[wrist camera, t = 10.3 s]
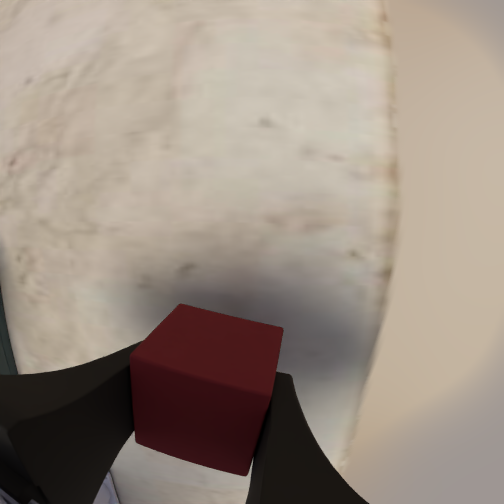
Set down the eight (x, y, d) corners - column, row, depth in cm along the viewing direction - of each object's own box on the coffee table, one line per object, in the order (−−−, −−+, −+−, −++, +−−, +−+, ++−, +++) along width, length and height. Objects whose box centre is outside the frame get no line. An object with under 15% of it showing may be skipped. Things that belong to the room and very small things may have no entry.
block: (263, 406, 12) (246, 478, 9) (174, 382, 13) (134, 443, 9) (284, 326, 11) (271, 395, 8) (179, 301, 12) (128, 354, 8)
